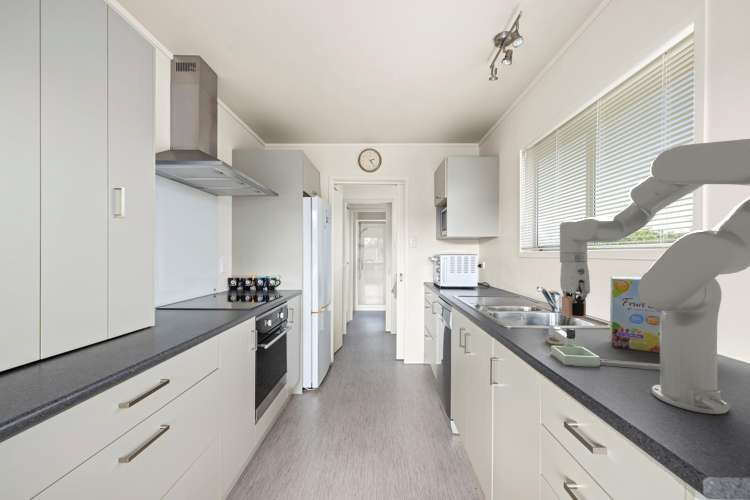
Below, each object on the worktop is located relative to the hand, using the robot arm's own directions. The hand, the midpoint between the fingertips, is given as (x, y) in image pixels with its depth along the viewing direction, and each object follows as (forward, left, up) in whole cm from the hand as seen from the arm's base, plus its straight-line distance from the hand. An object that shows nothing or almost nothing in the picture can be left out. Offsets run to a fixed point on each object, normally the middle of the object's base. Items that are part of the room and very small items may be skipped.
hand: (573, 313), depth 99 cm
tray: (0, 0, -15) cm, 15 cm away
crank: (+13, -2, -14) cm, 19 cm away
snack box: (+15, -32, -16) cm, 38 cm away
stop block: (0, 0, -1) cm, 1 cm away
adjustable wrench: (-3, -18, -16) cm, 24 cm away
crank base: (+19, -2, -15) cm, 25 cm away
